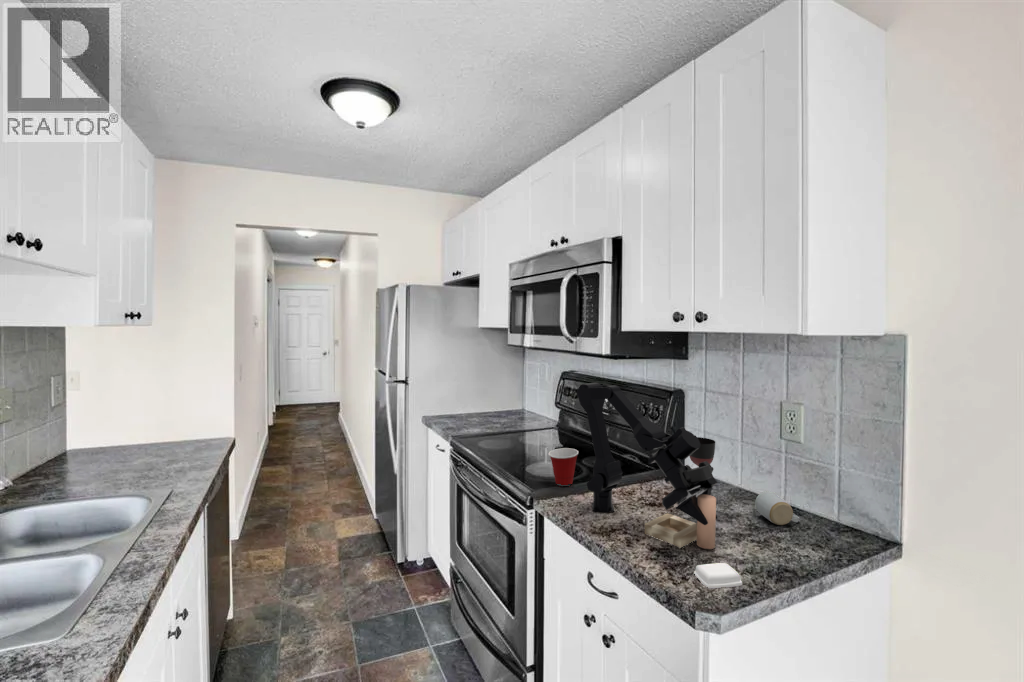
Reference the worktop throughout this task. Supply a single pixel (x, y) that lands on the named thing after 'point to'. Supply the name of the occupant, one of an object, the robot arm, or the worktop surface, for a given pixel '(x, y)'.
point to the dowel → (707, 531)
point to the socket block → (672, 530)
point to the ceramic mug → (775, 508)
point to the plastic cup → (563, 464)
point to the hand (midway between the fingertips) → (711, 521)
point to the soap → (717, 575)
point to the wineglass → (704, 451)
